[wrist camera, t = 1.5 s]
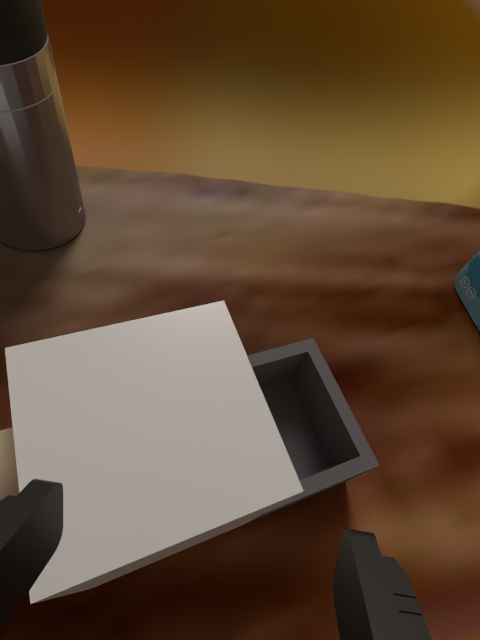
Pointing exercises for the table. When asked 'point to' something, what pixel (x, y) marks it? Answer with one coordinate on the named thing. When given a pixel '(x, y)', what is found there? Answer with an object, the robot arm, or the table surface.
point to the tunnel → (144, 441)
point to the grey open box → (311, 418)
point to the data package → (470, 288)
